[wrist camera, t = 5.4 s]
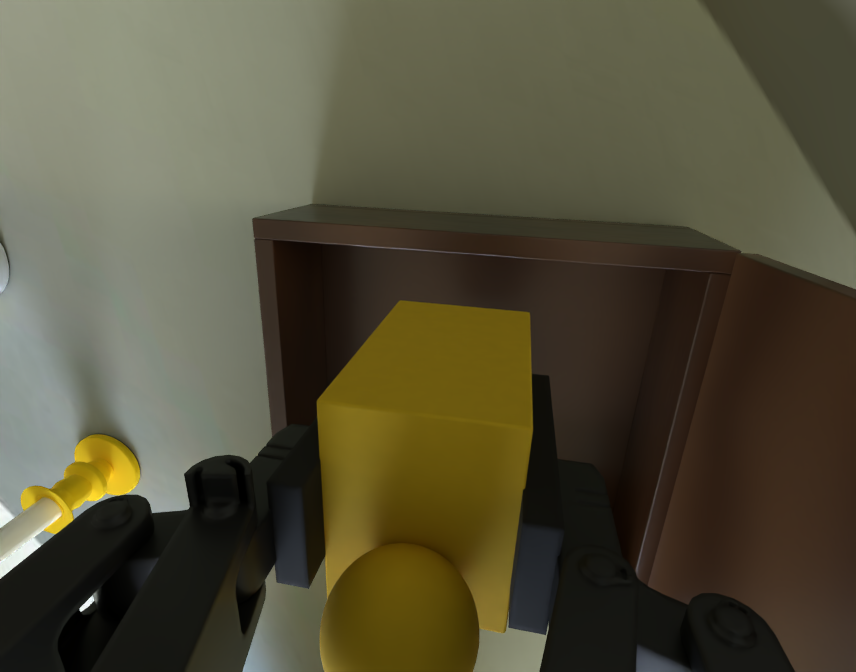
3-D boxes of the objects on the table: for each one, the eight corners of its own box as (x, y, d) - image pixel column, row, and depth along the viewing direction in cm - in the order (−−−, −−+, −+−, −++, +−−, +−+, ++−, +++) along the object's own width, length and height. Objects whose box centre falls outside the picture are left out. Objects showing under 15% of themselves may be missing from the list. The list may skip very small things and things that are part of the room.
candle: (116, 501, 38) (-125, 708, 24) (67, 453, 38) (-213, 639, 23) (153, 472, 37) (-85, 678, 22) (103, 421, 36) (-179, 601, 21)
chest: (324, 481, 34) (282, 550, 28) (310, 203, 27) (251, 218, 21) (620, 527, 31) (642, 615, 25) (689, 226, 24) (742, 251, 18)
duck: (530, 311, 16) (537, 547, 6) (509, 486, 18) (492, 836, 9) (399, 299, 17) (234, 496, 7) (396, 469, 19) (272, 777, 10)
